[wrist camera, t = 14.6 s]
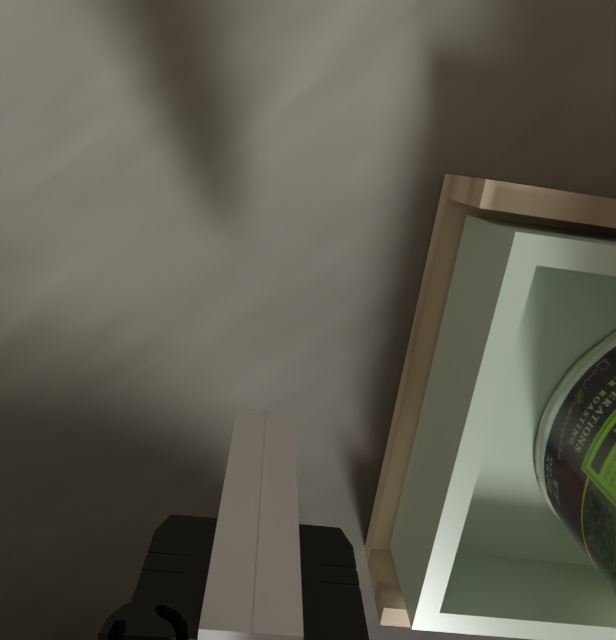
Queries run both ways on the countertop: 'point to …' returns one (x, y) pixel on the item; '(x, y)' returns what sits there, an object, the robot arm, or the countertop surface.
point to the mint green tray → (503, 440)
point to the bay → (451, 213)
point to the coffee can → (583, 455)
